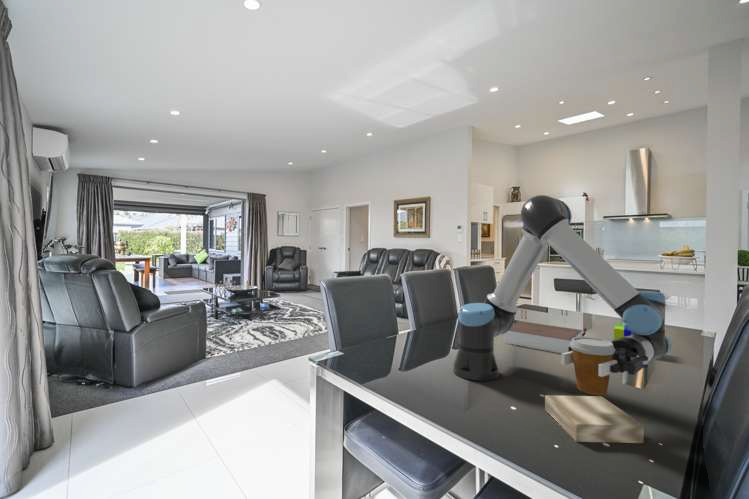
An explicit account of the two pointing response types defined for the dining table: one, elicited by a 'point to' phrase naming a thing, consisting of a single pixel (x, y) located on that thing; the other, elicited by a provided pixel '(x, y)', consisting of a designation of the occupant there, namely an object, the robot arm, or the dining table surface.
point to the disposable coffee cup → (591, 363)
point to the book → (541, 336)
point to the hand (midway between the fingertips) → (580, 364)
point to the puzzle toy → (621, 331)
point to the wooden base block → (593, 419)
